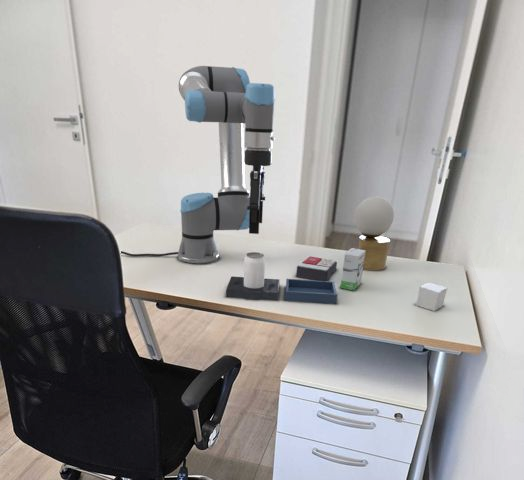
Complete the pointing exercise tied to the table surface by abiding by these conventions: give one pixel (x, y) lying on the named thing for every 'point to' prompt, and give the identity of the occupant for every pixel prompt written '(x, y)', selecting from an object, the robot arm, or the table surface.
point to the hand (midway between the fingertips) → (255, 227)
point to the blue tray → (310, 291)
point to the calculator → (316, 268)
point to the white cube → (431, 296)
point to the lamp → (374, 230)
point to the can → (254, 270)
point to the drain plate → (253, 289)
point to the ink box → (352, 268)
